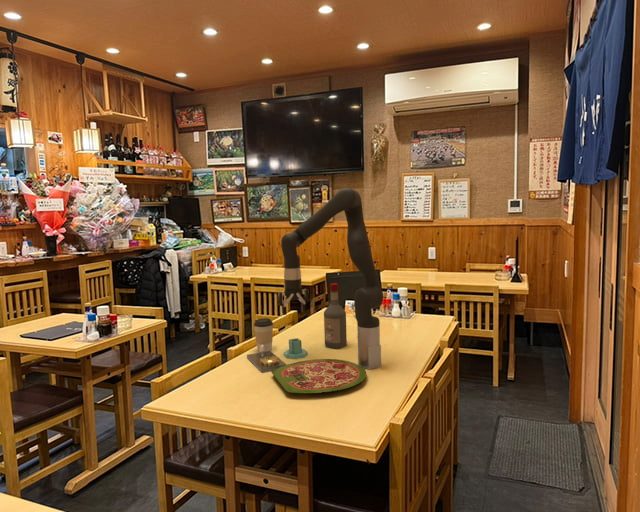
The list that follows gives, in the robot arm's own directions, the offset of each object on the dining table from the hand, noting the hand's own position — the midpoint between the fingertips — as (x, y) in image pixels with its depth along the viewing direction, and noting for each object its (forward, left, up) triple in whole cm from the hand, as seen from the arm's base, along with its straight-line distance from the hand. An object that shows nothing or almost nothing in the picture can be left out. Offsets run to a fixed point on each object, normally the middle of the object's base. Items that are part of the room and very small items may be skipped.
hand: (294, 313), depth 212 cm
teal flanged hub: (0, 0, -19) cm, 19 cm away
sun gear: (-8, +15, -18) cm, 25 cm away
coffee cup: (+14, +10, -20) cm, 26 cm away
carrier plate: (-3, +15, -19) cm, 25 cm away
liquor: (+3, -22, -20) cm, 30 cm away
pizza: (-32, +2, -20) cm, 38 cm away
